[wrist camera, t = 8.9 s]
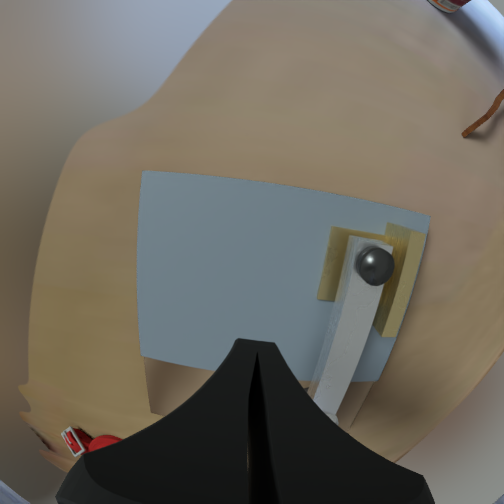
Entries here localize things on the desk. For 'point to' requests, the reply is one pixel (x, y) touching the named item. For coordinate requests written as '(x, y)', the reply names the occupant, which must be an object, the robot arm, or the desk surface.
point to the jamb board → (191, 379)
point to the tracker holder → (85, 441)
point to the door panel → (245, 268)
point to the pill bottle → (448, 4)
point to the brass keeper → (394, 290)
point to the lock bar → (350, 320)
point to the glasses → (484, 118)
